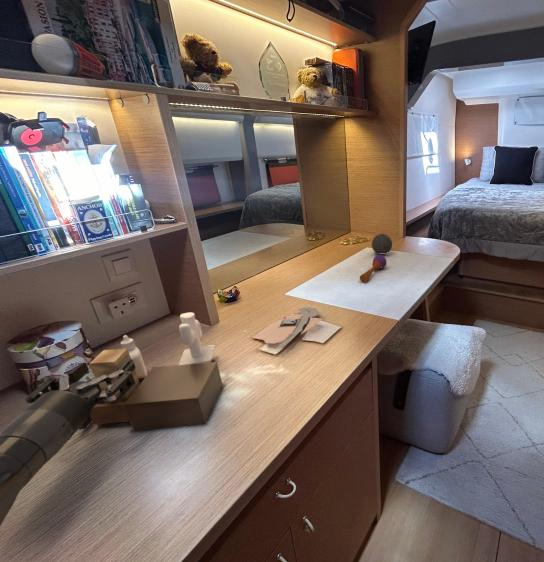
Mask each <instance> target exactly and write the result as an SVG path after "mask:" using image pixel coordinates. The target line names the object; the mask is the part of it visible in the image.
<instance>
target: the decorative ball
mask: <svg viewBox="0 0 544 562" xmlns="http://www.w3.org/2000/svg"><path fill="white" fill-rule="evenodd" d="M371 248H372V250H373V251H374V253H375V254H378V253H386V254H388V253H389V252H390V251H391V250H392V248H393V241H392V238H391V237H390V236H389V235H387V234H385V233H380V234H379V233H378V234H376V235H375V236H374V237H373V239H372V240H371ZM387 252H388V253H387ZM380 255H382V256H384V254H380Z"/></svg>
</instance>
